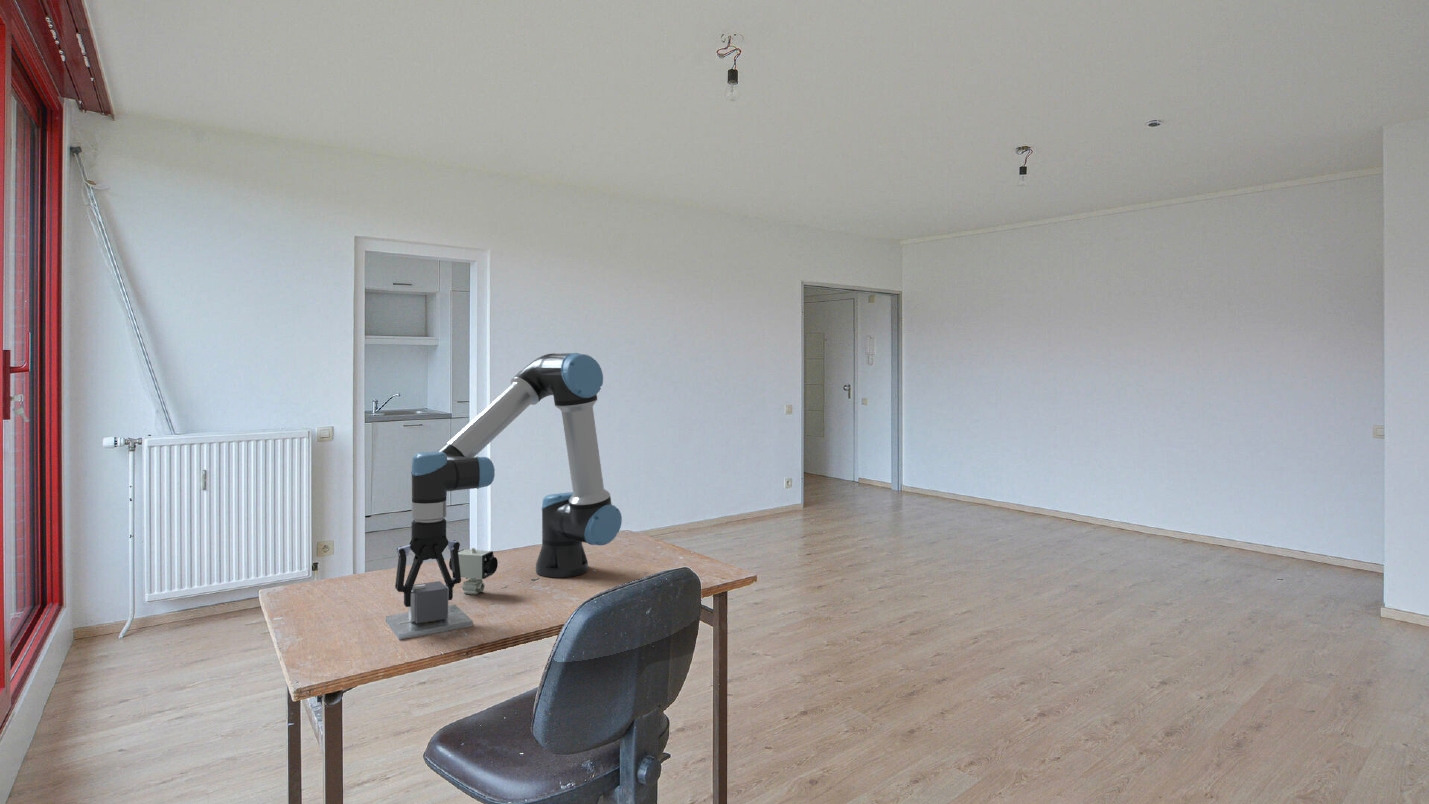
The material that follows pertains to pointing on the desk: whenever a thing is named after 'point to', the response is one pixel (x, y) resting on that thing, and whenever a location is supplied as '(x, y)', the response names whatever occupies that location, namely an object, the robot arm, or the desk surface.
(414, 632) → the grey peg base
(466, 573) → the pneumatic valve
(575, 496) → the robot arm
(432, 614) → the grey cabinet with handle
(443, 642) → the desk surface
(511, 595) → the desk surface
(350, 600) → the desk surface
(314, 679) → the desk surface
